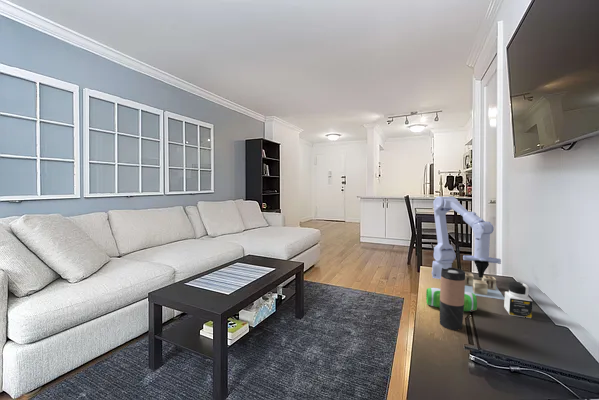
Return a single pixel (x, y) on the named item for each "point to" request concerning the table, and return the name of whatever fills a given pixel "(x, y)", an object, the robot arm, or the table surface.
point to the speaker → (434, 299)
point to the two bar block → (490, 282)
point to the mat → (490, 293)
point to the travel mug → (452, 298)
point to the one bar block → (469, 279)
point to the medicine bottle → (518, 300)
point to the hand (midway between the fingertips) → (480, 277)
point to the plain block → (480, 287)
